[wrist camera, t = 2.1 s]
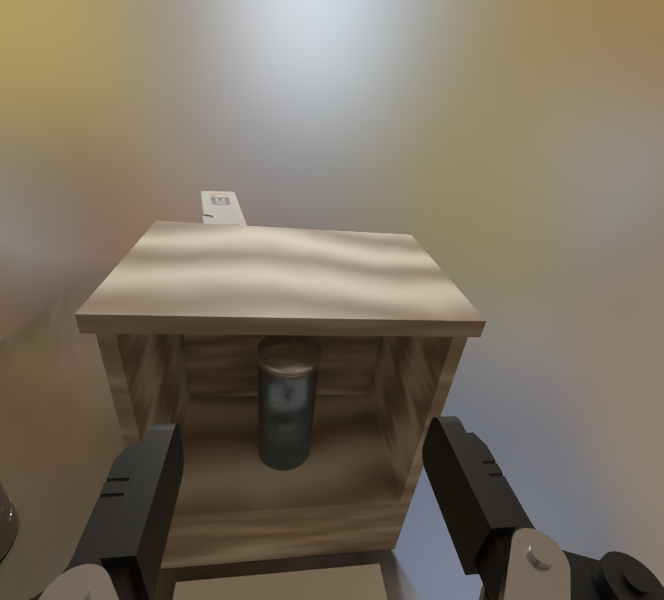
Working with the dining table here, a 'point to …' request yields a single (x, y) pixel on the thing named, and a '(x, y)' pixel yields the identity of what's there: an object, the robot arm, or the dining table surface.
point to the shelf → (242, 378)
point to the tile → (291, 586)
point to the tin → (286, 398)
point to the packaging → (221, 208)
